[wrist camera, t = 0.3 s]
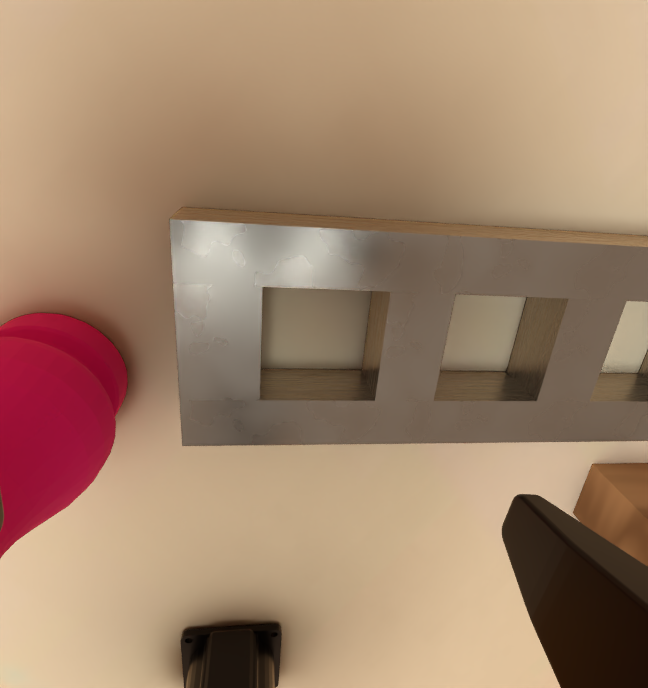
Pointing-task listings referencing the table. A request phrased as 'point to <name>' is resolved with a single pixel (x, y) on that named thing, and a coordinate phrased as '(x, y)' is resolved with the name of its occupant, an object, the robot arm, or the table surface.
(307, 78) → the table surface
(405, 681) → the table surface
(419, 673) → the table surface
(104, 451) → the pepper mill
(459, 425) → the grey peg hole board
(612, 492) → the walnut peg
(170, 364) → the table surface
